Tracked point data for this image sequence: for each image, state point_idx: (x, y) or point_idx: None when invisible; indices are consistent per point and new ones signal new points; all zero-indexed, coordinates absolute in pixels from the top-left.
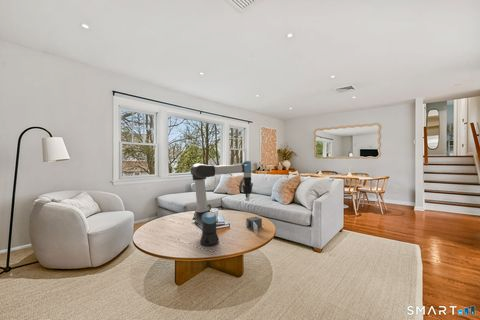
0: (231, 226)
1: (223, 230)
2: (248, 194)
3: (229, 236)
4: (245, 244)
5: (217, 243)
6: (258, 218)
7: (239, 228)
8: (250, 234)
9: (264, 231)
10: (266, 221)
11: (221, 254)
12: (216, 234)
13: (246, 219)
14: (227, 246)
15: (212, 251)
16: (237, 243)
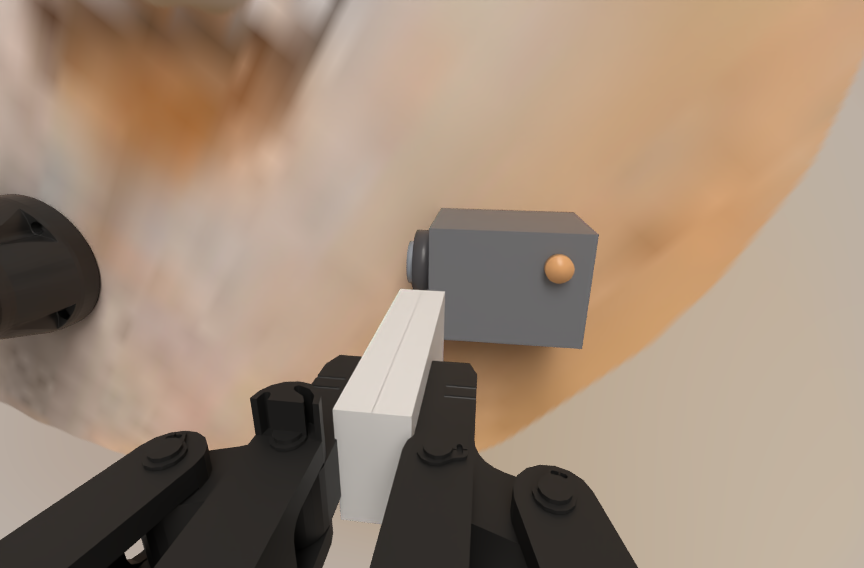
0: (332, 66)
1: (210, 116)
2: (380, 513)
3: (203, 272)
4: (242, 437)
5: (81, 319)
6: (549, 325)
7: (370, 178)
8: None
9: (503, 381)
10: (770, 205)
11: (72, 434)
12: (21, 323)
13: (430, 226)
14: (131, 387)
15: (33, 379)
16: (204, 396)
